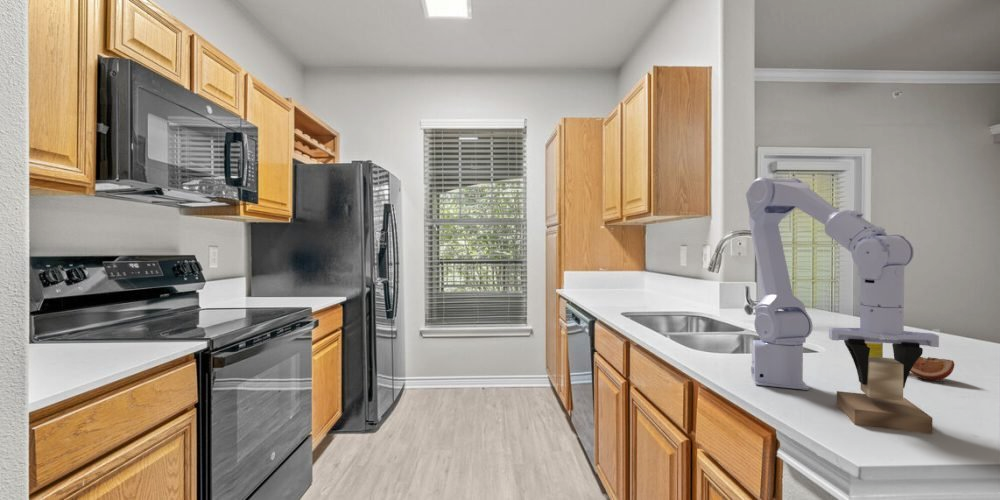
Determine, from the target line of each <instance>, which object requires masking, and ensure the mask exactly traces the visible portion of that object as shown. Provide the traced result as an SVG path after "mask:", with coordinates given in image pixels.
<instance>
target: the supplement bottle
mask: <svg viewBox="0 0 1000 500" xmlns="http://www.w3.org/2000/svg"><path fill="white" fill-rule="evenodd" d="M871 339H879V338H871ZM865 343H867V346H868V347H869V348H870V352H869V356H870V357H883V353H884V352H883V349H884V348H883V344H884V343H879V342H865ZM883 358H884V357H883Z"/></svg>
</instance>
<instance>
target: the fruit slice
mask: <svg viewBox="0 0 1000 500" xmlns="http://www.w3.org/2000/svg"><path fill="white" fill-rule="evenodd" d="M954 369H955V362H954V360H951V359H946V358H938V357H930V356H928V357H923V356H920V357H919V358H918V360H917V361H916V362H915V364H914V365H913V367H912V369H911V371H910V373H912V374H913V375H914V376H917V377H919V378H921V379H924V380H927V381H941V380H944V379H946V378H948V377H949V376H950V375H951V374H952V373H953V371H954Z"/></svg>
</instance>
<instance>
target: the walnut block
mask: <svg viewBox="0 0 1000 500" xmlns="http://www.w3.org/2000/svg"><path fill="white" fill-rule="evenodd" d="M837 405H838V406H839V407H838V406H837ZM836 406H837V407H838V408H839V409H840V410H841V412H843V414H844V415H845V414H846V415H847V416H848V417H849V418H848V417H847V416H846V417H847V418H848V420H849V421H851V422H852V423H853V424H854V426H862V427H863V426H864V427H871V428H880V429H889V430H893V431H896V430H897V431H903V432H910V433H911V432H912V433H920V434H921V433H922V434H928V435H933V417H932V416H931V415H930V414H928V413H927V412H925V411H924V410H922V409H921V408H919V407H918V406H917V405H916V404H914V403H912V402H911V401H910V400H909V399H907V398H906V397H903V401H899V400H890V399H880V398H871V397H868V396H867V395H866V394H865V393H858V392H852V391H851V392H849V391H839V390H837V391H836Z"/></svg>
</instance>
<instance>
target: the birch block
mask: <svg viewBox="0 0 1000 500" xmlns="http://www.w3.org/2000/svg"><path fill="white" fill-rule="evenodd" d="M860 391H862V392H863V394H866V395H867V396H868V397H871V398H880V399H890V400H899V401H903V398H904V388H903V364H902V363H900V362H898V361H896V360H895V359H894V357H870V356H869V359H868V379H867V385H863V384H862V383H860Z"/></svg>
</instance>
